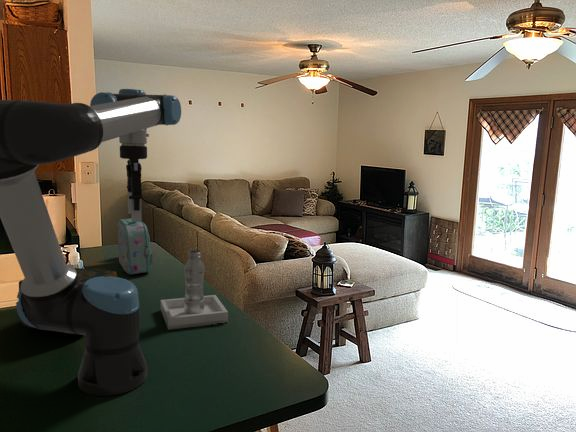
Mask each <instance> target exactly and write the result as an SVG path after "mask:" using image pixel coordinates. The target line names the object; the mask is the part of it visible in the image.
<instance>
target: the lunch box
mask: <svg viewBox="0 0 576 432" xmlns="http://www.w3.org/2000/svg"><path fill="white" fill-rule="evenodd" d="M150 239H151V238H150V234H149V230H148V227H147V224H146V223H145V222H143V221H142V222H132V221H131V218H130V217H129V218H125V219H124V218H123V219H122V218H121V219H119V220H118V222H117V241H118V263H119V264H120V266H121V267H122V270H124V272H126V274H127V275H137V274H143V273H150V272H151V267H152V265H153V254H151V253H152V252H151V240H150Z"/></svg>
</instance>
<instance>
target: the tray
mask: <svg viewBox="0 0 576 432" xmlns="http://www.w3.org/2000/svg"><path fill="white" fill-rule="evenodd" d="M203 296H204V302H205V307H204V310H203V312H202V313H200V314H187V313H186V312H185V311H184V306H183V305H184V299H185V297H180V298H169V299H160V312H161V315H162V318H163V321H164V324H165V325H166V328H167V330H178V329H186V328H187V329H188V328H194V327H203V326H204V327H205V326H211V324H213V325H218V324H217V323H222V324H226V323H225V322H228V323H229V311H228V310H227V309H226V307H225V306H224V304H223V303H222V301H220V299H219V298H218V296H217V295H216V294H210V295H203Z"/></svg>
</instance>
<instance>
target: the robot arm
mask: <svg viewBox="0 0 576 432" xmlns="http://www.w3.org/2000/svg"><path fill="white" fill-rule="evenodd" d="M181 105H182V104H181V101H180V99H179V98H178V97H177V96H175V95H170V94H169V95H168V94H165V93H164V94H147V93H146V91H144V90H142V89H135V88H120V89H119V90H118V93H112V92H108V91H107V92H106V91H105V92H98V93H96V94H94V96H93V97H91V100H90V103H89V105H88V104H86V103H82V102H72V103H60V102H59V103H58V102H48V101H39V100H38V101H37V100H19V99H18V100H17V99H0V220H1V223H2V225H3V228H4V230H5V232H6V235H7V237H8V240H9V242H10V245H11V248H12V250H13V252H14V255H15V257H16V259H17V263H18V264H19V267H20V270H21V272H22V274H23V279H22V280H23V281H22V283H21V288H20V290H19V289H18V292H17V295H16V298H17V299H18V300H17V301H16V303H15V307H16V312H17V314H18V317H19V318H20V321H21V320H22V321H23V322H24V323H25V324H27V325H28V326H31V327H34V328H38V329H37V330H41V331H52V332H59V333H60V332H61V333H64V332H65V333H73V334H72V335H81V336H84V353H83V357H82V360H81V362H80V365H79V369H78V373H77V386H78V388H79V390H81V391H82V392H84V393H85V394H88V395H92V396H97V397H98V396H99V397H104V396H105V397H106V396H107V397H109V396H110V397H111V396H115V395H121V394H125V393H127V392H131V391H133V390H135V389H137V388H138V387H140V386H141V385H143V383H145V381H146V379H147V378H148V365H147V362H146V359H145V357H144V356H145V355H144V354H143V352H142V349H141V345H140V314H139V313H140V300H139V292H138V291H139V290H138V288H137V286H136V284H134V283H133V282H132V281H130V280H128V279H125V278H122V277H118V276H117V277H111V276H108V277H104V276H103V277H95V278H91V279H89V280H87V281H86V282H85V283H83V282H80V281H79V278H78V275H77V272H76V270H75V268H76V267H74V266H73V265H70V264H67V263H66V260H65V258H64V255H63V252H62V248H61V245H60V243H59V240H58V237H57V234H56V230H55V229H54V225H53V222H52V219H51V216H50V214H49V210H48V207H47V205H46V202H45V199H44V196H43V194H42V190H41V187H40V184H39V181H38V178H37V175H36V173H35V171H36V170H37V169H38V167H39V166H40V165H47V164H51V163H56V162H60V161H64V160H67V159H71V158H74V157H78V156H80V155H81V156H82V155H83V154H86V153H90V152H92V151H94V150H96V149H98V148H99V146H101V145H102V143H104V142H107V141H110V140H113V139H117V138H119V139H118V140H119V141H118V142H119V144H121V145H120V146H119V158H120V159H124V160H127V162H126V163H127V164H125V165H126V166H125V167H126V177H127V178H126V179H127V182H126V183H127V185H126V189H127V214H129V215H130V216H131V221H132V222H143V217H142V216H143V215H142V214H143V213H142V212H143V211H142V210H143V209H142V208H143V207H142V198H143V189H142V164H141V163H140V162H139V161H140V160H146V159H147V158H148V147H147V146H146V145H147V141H148V139H147V138H149V137H150V134H149V133H147V129H149V128H153V127H156V126H164V125H165V126H175V125H178V123H179V122H180V120H181V116H182V106H181ZM65 333H64V334H65Z"/></svg>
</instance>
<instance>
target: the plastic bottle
mask: <svg viewBox="0 0 576 432" xmlns="http://www.w3.org/2000/svg"><path fill="white" fill-rule="evenodd" d="M201 252H202V251H201V250H198V249H192V250H188V255H187V257H188V260H187V261H186V262H185V264H184V266H183V274H184V281H185V282H184V285H185V291H184V293H185V294H184V298H185V299H184V305H183V306H184V311H185V312H186V313H187V314H200V313H202V312H203V310H204V307H205V302H204V296H205V295H204V278H205V271H206V266H205V264H204V262H203V261H202V259H201V257H202V255H201Z"/></svg>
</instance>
